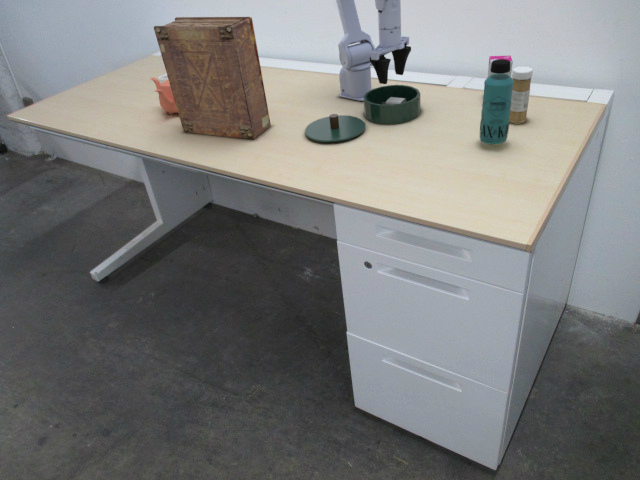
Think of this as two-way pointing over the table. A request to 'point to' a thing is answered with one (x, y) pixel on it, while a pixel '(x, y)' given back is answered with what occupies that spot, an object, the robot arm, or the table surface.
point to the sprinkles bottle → (520, 94)
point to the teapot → (165, 96)
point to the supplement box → (496, 59)
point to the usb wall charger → (394, 101)
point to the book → (215, 75)
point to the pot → (395, 111)
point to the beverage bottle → (496, 104)
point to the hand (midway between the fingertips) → (391, 78)
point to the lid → (335, 128)
